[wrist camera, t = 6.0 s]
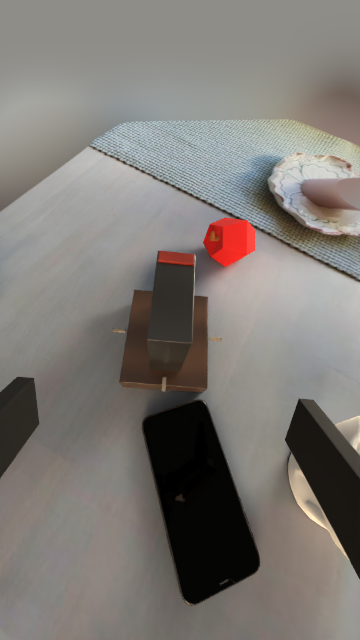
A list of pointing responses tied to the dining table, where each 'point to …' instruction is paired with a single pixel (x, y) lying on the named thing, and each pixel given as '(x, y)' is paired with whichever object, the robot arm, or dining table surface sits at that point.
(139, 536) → the dining table surface
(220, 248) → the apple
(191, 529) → the smartphone
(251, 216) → the dining table surface
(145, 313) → the base
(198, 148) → the dining table surface
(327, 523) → the cup
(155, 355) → the dark grey block
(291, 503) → the dining table surface
